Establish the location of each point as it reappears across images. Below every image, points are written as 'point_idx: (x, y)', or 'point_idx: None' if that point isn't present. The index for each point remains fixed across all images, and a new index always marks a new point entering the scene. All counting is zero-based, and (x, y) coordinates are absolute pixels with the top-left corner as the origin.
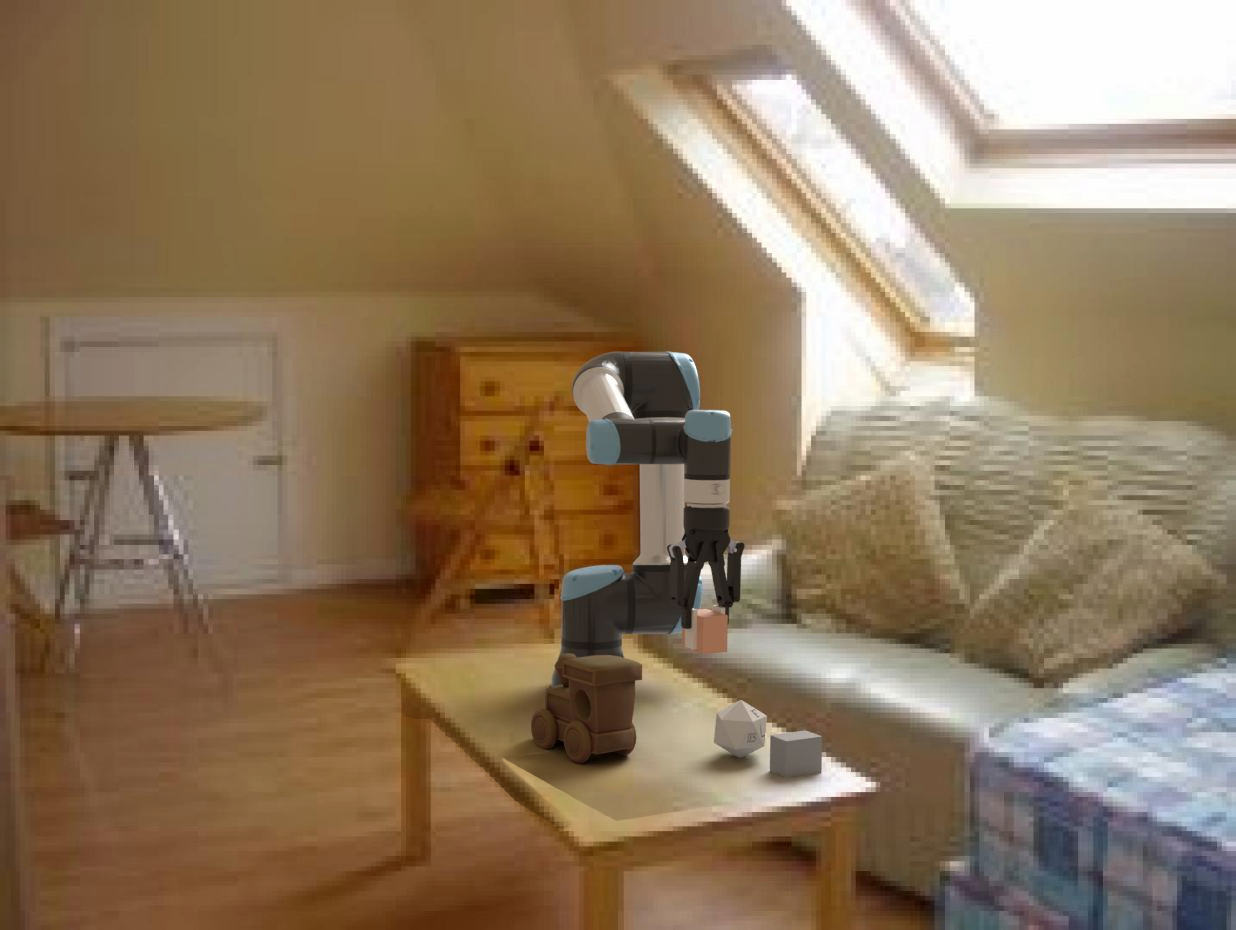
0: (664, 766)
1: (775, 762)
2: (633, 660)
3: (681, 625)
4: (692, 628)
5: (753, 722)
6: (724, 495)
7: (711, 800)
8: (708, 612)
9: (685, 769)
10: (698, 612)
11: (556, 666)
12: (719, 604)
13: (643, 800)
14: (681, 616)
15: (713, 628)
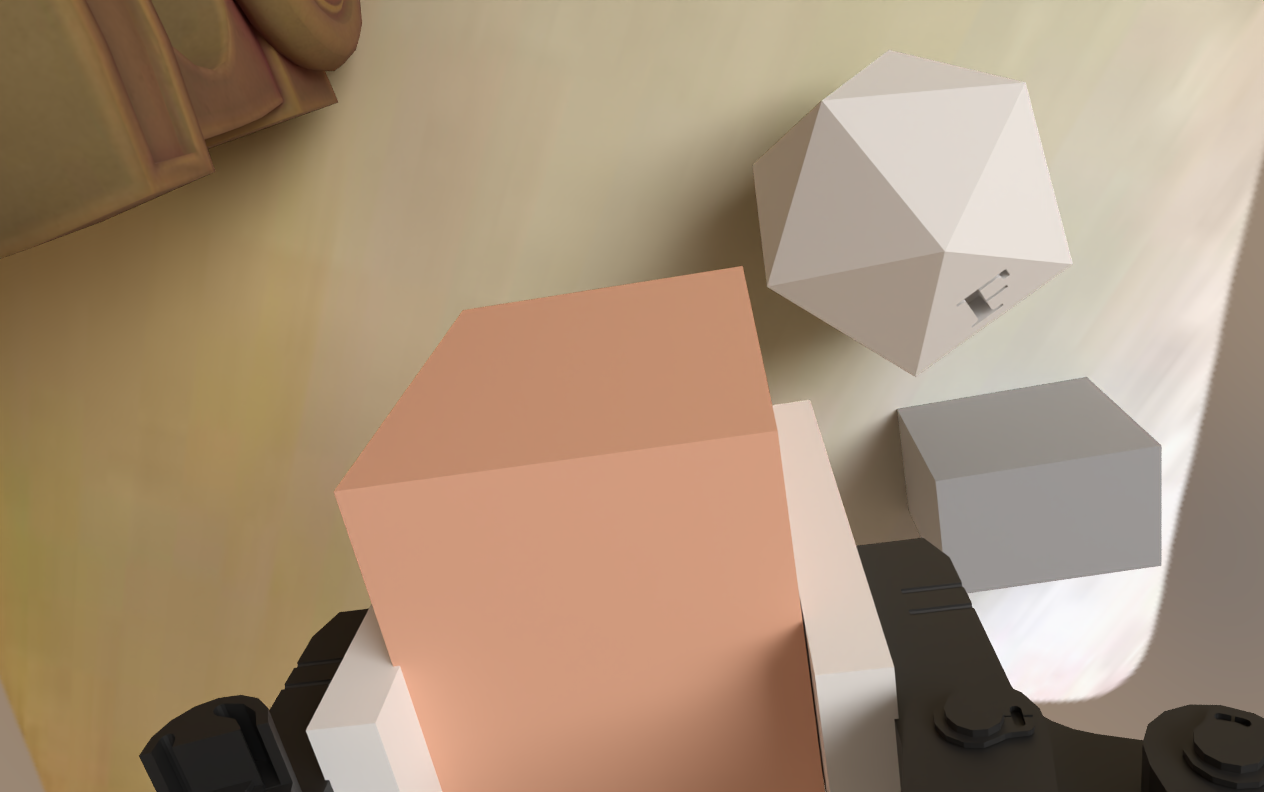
0: (482, 218)
1: (911, 466)
2: (81, 22)
3: (321, 631)
4: None
5: (920, 372)
6: None
7: None
8: (682, 715)
9: (559, 289)
10: (537, 683)
11: None
12: (900, 767)
13: (298, 614)
14: (273, 715)
15: None
